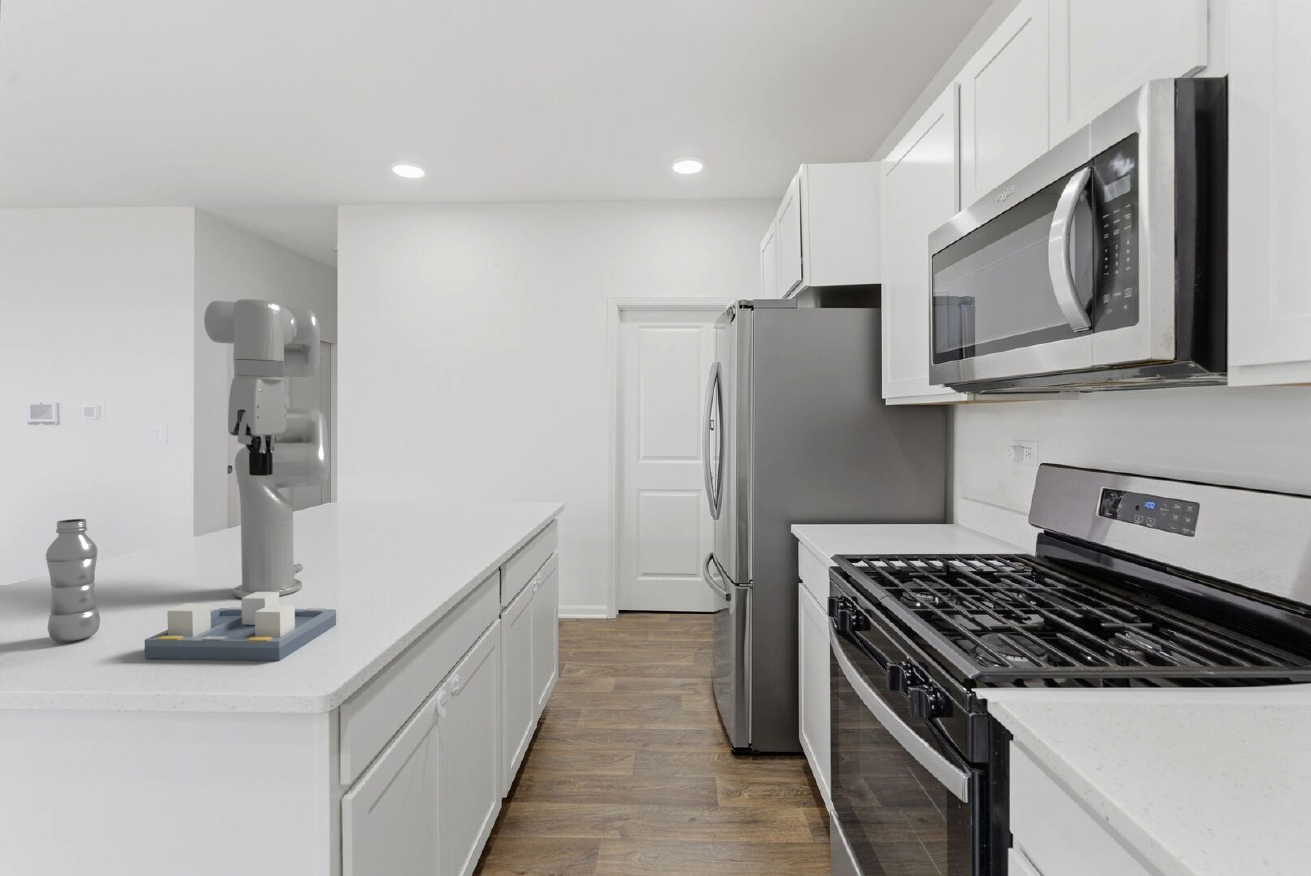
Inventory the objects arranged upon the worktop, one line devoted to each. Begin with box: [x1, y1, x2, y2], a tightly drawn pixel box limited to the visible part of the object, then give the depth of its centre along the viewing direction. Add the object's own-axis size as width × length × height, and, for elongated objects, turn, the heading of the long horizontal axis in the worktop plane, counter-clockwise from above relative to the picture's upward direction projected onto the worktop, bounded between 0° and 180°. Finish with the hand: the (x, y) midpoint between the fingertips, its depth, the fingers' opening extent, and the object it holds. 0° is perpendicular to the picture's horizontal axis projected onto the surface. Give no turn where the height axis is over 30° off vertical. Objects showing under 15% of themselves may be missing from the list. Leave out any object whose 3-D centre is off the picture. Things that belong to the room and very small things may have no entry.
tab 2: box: [241, 592, 280, 625], centre depth 111 cm, size 4×4×4 cm
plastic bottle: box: [45, 518, 101, 642], centre depth 107 cm, size 6×7×20 cm
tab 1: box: [167, 602, 211, 637], centre depth 103 cm, size 4×4×4 cm
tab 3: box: [255, 603, 296, 638], centre depth 103 cm, size 4×4×4 cm
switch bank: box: [144, 606, 337, 662], centre depth 107 cm, size 17×21×3 cm
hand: (261, 474), depth 114 cm, fingers closed
